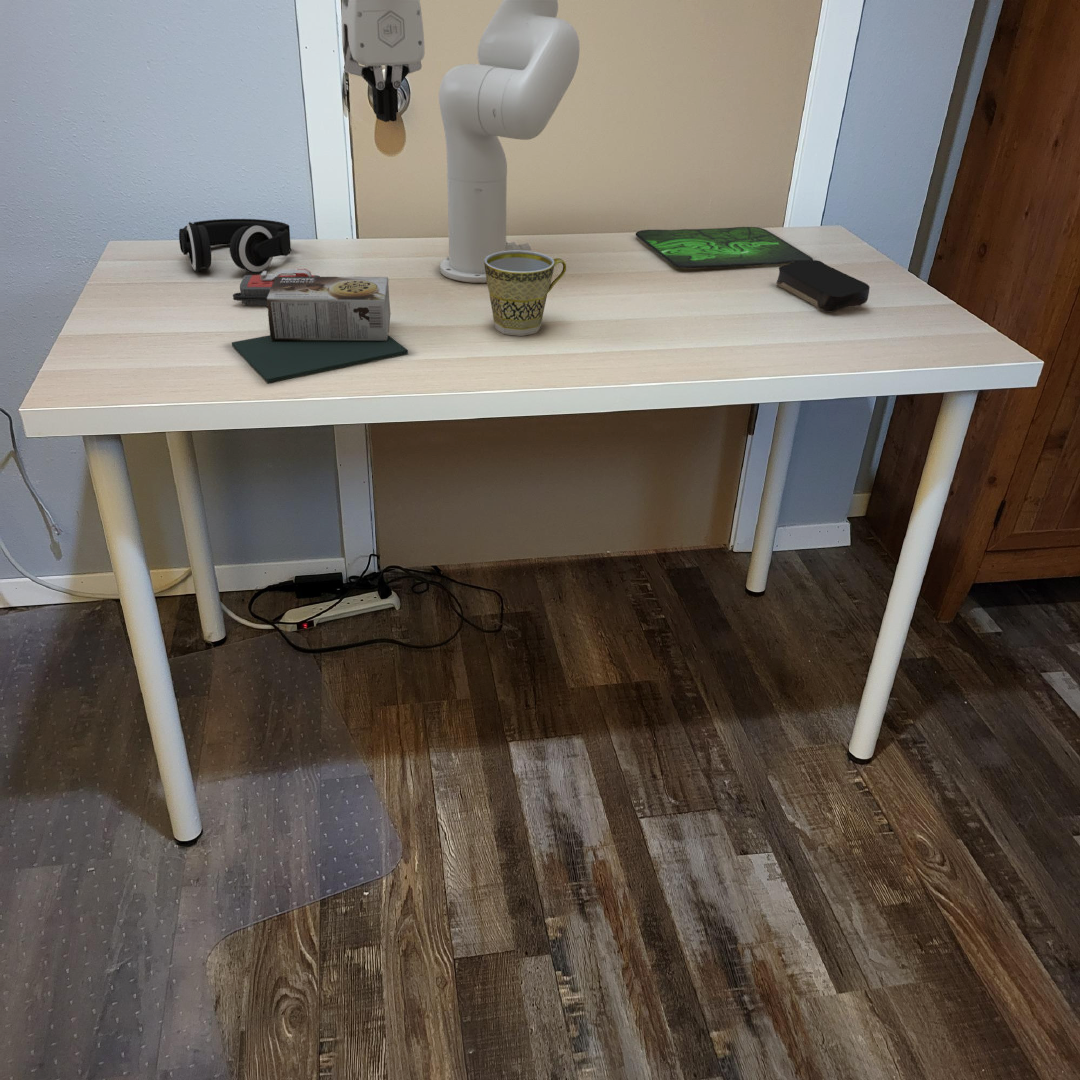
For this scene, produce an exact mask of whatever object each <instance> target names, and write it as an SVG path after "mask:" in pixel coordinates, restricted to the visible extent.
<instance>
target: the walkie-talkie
mask: <svg viewBox="0 0 1080 1080" xmlns="http://www.w3.org/2000/svg"><path fill="white" fill-rule="evenodd" d="M267 273H268V271H267V270H264V271H262V272H261V273H260V274H244V276H243V277H242V280H241V282H240V283H239V289H240V290H239V292H236V293H233V294H232V299H233V300H234V301H236V302H237V301H239V302H241V304H242V305H245V306H249V307H263V306H264V307H268V306H267V296H268V294H269V292H270V289H271V287H272V284H273V282H274V280H275V277H321V276H320V275H317V274H316V275H313V274H312V272H311V271H310V270H309V269H306V268H297V269H296V268H282V269H280V270H278V271H277V272H276V273H274V274H267Z"/></svg>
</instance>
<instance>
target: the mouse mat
mask: <svg viewBox="0 0 1080 1080" xmlns="http://www.w3.org/2000/svg"><path fill="white" fill-rule="evenodd" d="M635 236H636V238H638V239H639V240H640V241H641V242H643V243H644V244H645V245H647V246H648V247H649V248H650V249H651V250H653V251H654V252H655V253H657V254H658V255H660V256H661V257H662V258H663V259H665V260H666V261H667V262H668V263H670V264H671V265H672V266H674V267H676V268H681V269H700V268H701V269H706V268H707V269H708V268H710V269H711V268H728V267H729V268H730V267H747V266H748V267H750V266H753V267H754V266H765V265H766V266H768V265H769V266H771V265H772V266H773V265H782V264H790V263H793V262H797V261H805V260H814V259H813V258H812V257H811V255H808V254H807V253H805V252H803V251H801V250H800V249H799V248H797V247H795V246H794V245H792V244H790V243H789V242H787V241H785V240H783V239H782V238H780V237H779V236H777V235H775V234H773V232H771V231H769V230H767V229H765V228H762V227H758V226H757V227H756V226H735V227H724V228H723V227H721V228H719V227H718V228H716V227H715V228H693V229H692V228H691V229H690V228H689V229H687V228H682V229H641V230H638V231H636V232H635Z"/></svg>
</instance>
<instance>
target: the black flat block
mask: <svg viewBox="0 0 1080 1080" xmlns="http://www.w3.org/2000/svg"><path fill="white" fill-rule="evenodd" d="M778 270H779V272H778V277H777V279H776V286H778V287H780V288H782V289H784V290H786V291H788V292H789V293H791V294H793V295H795V296H796V297H799V298H800V299H803V300H804V301H806V302H808V303H810V304H811V305H812V306H814V307H816V308H818V310H822V311H824V312H826V313H833V312H836V311H840V310H844V309H848V308H854V307H858V306H862V305H864V304H866V303H867V302H868V299H869V295H870V288H871V287H870V285H869V284H868V283H866V282H865V281H863V280H859V279H857V278H855V277H853V276H851V275H849V274H846V273H844V272H842V271H841V270H838V269H836V268H834V267H831V266H829V265H827V264H825V263H824V262H822V261H821V260H817V259H816V260H815V259H813V260H805V261H797V262H790V263H787V264H784V265H780V266H779V267H778Z"/></svg>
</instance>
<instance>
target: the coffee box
mask: <svg viewBox="0 0 1080 1080" xmlns="http://www.w3.org/2000/svg"><path fill="white" fill-rule="evenodd" d="M389 286H390V285H389V276H320V277H275V280H274V282H273V284H272V287H271V289H270V292H269V294H268V296H267V306H266V307H267V316H268V317H267V318H268V319H267V320H268V328H269V335H270V336H271V340H272V341H273V340H333V341H387V338H388V335H389V329H390V324H391V323H390V322H391V314H392V313H391V303H390V289H389Z"/></svg>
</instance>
